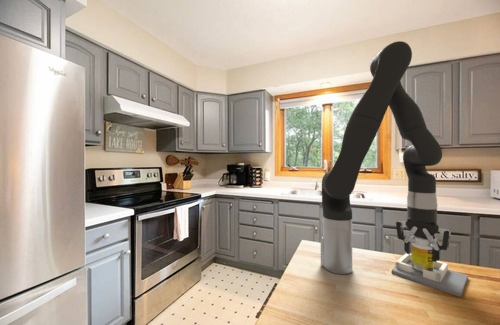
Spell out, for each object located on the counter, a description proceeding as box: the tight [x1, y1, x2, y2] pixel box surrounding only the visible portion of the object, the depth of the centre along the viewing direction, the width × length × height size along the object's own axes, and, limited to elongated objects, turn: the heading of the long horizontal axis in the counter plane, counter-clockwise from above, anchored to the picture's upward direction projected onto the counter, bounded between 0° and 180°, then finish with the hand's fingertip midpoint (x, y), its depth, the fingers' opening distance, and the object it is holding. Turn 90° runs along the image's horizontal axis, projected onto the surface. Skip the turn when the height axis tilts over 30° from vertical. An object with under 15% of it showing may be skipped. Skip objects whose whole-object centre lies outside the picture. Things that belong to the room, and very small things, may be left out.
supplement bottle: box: [411, 236, 434, 272], centre depth 69 cm, size 6×6×10 cm
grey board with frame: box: [391, 252, 469, 298], centre depth 67 cm, size 16×14×3 cm
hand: (421, 256), depth 70 cm, fingers open, 6 cm apart
